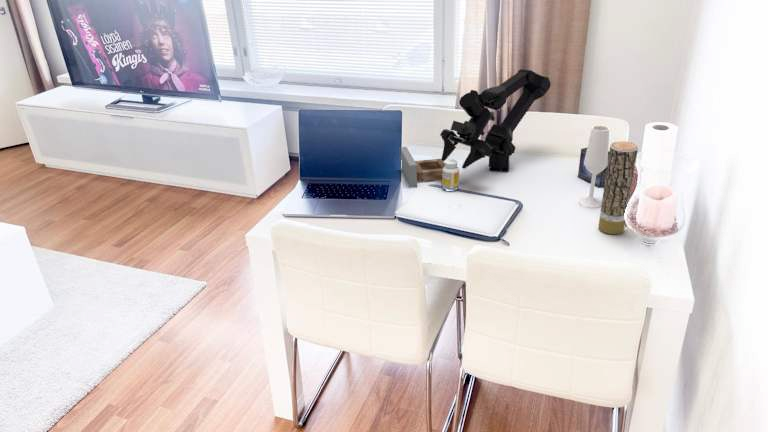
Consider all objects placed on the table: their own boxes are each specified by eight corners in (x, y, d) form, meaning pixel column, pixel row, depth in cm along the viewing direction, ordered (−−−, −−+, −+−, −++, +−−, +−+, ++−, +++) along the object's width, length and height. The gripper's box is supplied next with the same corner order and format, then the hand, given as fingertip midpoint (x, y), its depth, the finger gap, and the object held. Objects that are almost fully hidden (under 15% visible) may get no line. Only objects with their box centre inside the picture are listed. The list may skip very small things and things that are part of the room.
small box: (576, 177, 198) (579, 148, 193) (591, 173, 200) (594, 144, 196) (598, 188, 189) (603, 158, 185) (613, 184, 192) (618, 154, 187)
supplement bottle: (443, 192, 190) (444, 165, 186) (440, 186, 195) (441, 159, 191) (460, 191, 191) (460, 164, 186) (456, 185, 196) (457, 158, 191)
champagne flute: (591, 196, 184) (602, 123, 173) (606, 205, 178) (617, 129, 167) (574, 200, 182) (583, 126, 171) (588, 209, 176) (598, 133, 165)
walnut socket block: (441, 169, 210) (441, 158, 208) (449, 180, 200) (449, 169, 198) (411, 171, 208) (411, 161, 206) (417, 183, 198) (417, 172, 197)
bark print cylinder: (625, 236, 160) (640, 150, 149) (599, 234, 162) (612, 149, 151) (621, 224, 166) (635, 141, 155) (596, 223, 168) (608, 140, 157)
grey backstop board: (406, 167, 211) (406, 146, 207) (417, 187, 195) (416, 164, 191) (400, 168, 211) (399, 147, 207) (410, 187, 195) (409, 165, 191)
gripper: (444, 105, 192) (420, 145, 190) (488, 116, 179) (462, 159, 177) (460, 123, 200) (436, 161, 198) (503, 135, 187) (478, 176, 185)
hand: (452, 164), depth 190 cm, fingers open, 9 cm apart
